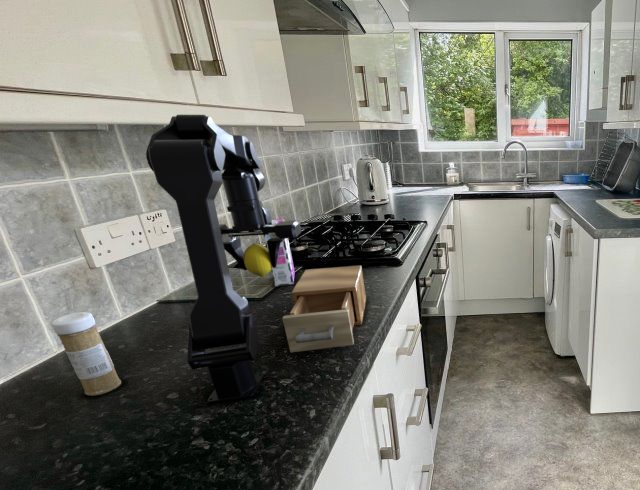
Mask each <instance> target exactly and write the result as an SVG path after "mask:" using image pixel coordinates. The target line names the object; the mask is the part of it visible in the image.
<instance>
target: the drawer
mask: <svg viewBox="0 0 640 490" xmlns="http://www.w3.org/2000/svg"><path fill="white" fill-rule="evenodd" d="M355 317H356V312H355V306H354V300H353V294H352V291H342V292H331V293H320V294H309V295H300V296H299V298H298V300H297V302H296V303H295V305H294V304H293V306H292V308H291V310H290V312H289V314H287V315H286V314H285V315H283V316H282V322H283V327H284V331H285V335H286V339H287V344H288V348H289V353H298V352H305V351H313V350H323V349H330V348H338V347H346V346H347V347H348V346H353V345H354V343H355V339H354V334H353V330H354V326H355V325H354V321H355Z"/></svg>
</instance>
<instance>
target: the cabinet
mask: <svg viewBox="0 0 640 490" xmlns="http://www.w3.org/2000/svg"><path fill="white" fill-rule="evenodd" d="M364 281H365V280H364V274H363V268H362V265H348V266H337V267H323V268H311V269H310V268H309V269H305V270H304V272H303V273H302V275H301V277H300V278H299V280H298V281H297V282H296V284H295V286H294V288H293V290H292V291H291V297H292V302H293V306H294V305H295V303H296V302H297V300H298V298H299V296H300V295H309V294H320V293H331V292H342V291H352V294H353V300H354V306H355V312H356V317H355V321H354V326H361V325H362V324H363V319H364V314H365V308H366V303H367V293H366V288H365V282H364Z"/></svg>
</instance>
